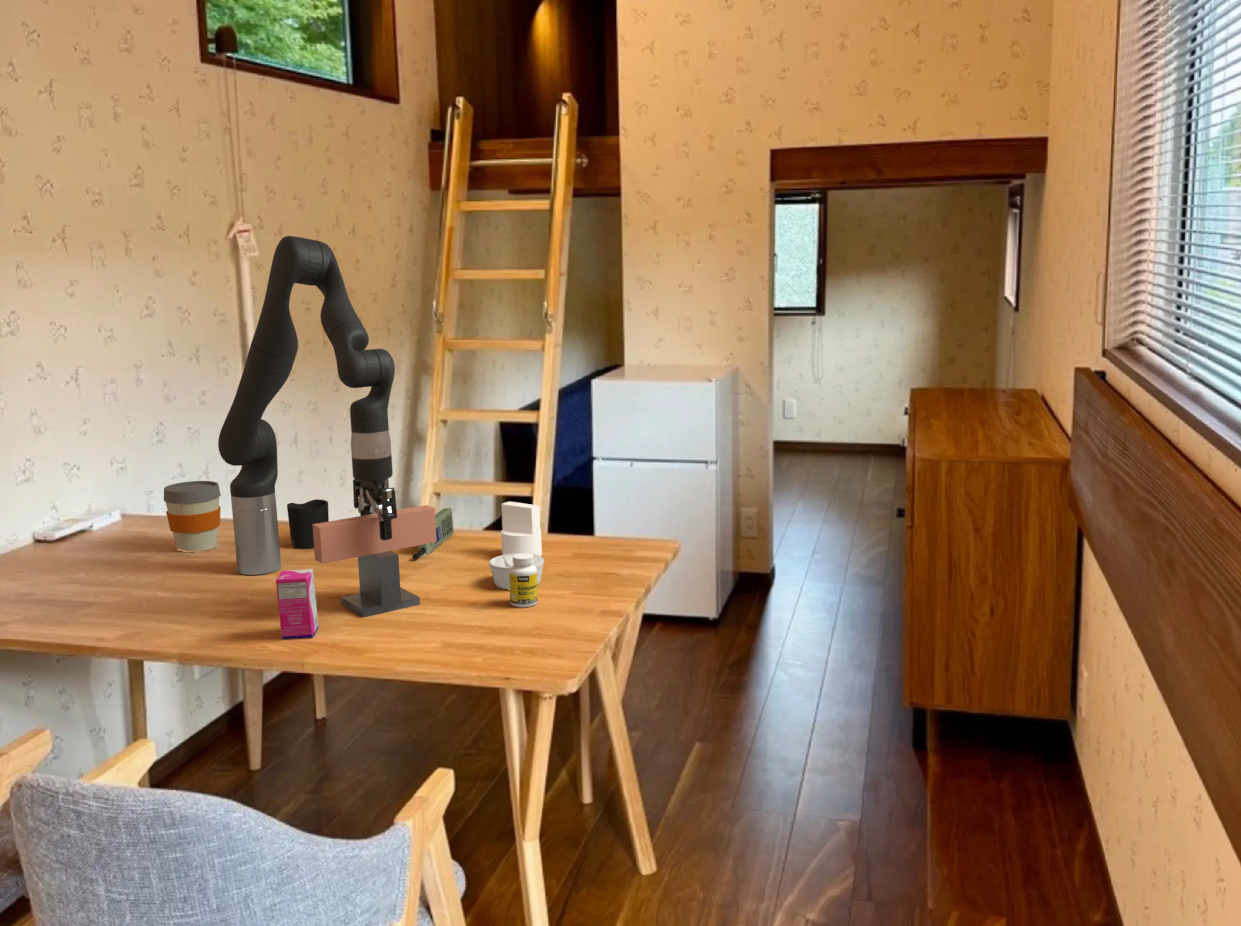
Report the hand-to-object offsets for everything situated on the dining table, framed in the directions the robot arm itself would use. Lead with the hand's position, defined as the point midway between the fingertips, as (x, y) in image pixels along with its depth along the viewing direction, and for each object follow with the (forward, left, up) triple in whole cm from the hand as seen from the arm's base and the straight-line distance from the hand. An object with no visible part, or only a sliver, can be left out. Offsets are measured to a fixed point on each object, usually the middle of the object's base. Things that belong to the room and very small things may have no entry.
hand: (376, 535), depth 215 cm
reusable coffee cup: (-68, -15, -14) cm, 71 cm away
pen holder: (-53, +7, -14) cm, 55 cm away
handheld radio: (-32, +28, -14) cm, 45 cm away
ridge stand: (0, 0, -14) cm, 14 cm away
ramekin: (+6, +28, -14) cm, 32 cm away
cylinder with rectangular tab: (-11, +40, -14) cm, 44 cm away
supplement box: (+6, -19, -14) cm, 24 cm away
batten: (0, 0, -3) cm, 3 cm away
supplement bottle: (+18, +22, -14) cm, 32 cm away
